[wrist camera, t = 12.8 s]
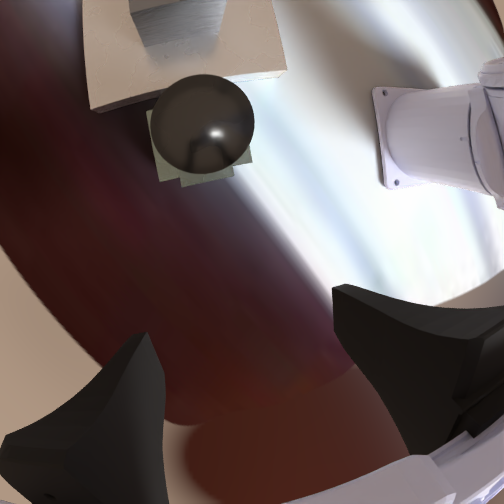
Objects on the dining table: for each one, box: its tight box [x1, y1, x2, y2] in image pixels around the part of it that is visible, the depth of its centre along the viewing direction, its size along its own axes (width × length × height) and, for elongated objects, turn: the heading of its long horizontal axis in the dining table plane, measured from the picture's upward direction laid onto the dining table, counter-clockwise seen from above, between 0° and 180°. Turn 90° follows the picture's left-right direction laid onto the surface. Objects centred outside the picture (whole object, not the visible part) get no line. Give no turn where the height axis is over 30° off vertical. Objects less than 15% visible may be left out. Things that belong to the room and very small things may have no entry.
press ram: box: [150, 74, 254, 174], centre depth 12 cm, size 3×3×8 cm
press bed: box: [83, 0, 287, 187], centre depth 14 cm, size 12×16×5 cm
